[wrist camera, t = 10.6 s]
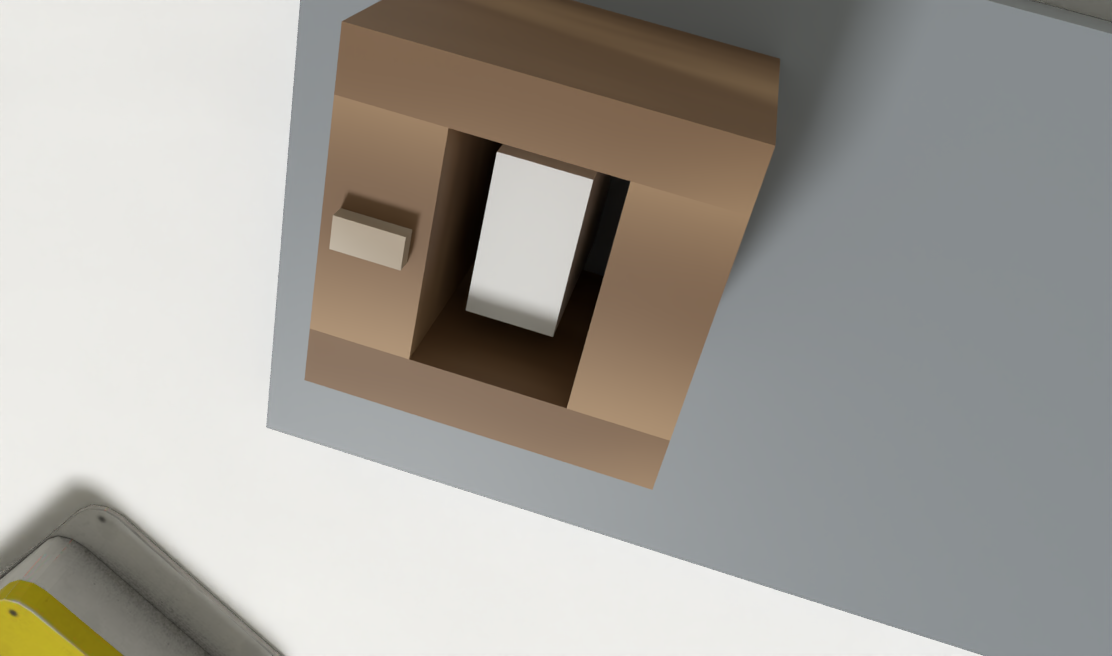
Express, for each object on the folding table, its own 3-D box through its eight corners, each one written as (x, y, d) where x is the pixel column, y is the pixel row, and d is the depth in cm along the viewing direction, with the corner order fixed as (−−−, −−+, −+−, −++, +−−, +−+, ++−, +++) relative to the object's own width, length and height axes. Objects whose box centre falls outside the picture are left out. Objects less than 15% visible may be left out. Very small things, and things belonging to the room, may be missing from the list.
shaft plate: (1638, 163, 17) (1957, 307, 12) (1196, 681, 24) (1293, 895, 20) (347, -184, 19) (198, -173, 14) (292, 395, 26) (181, 531, 21)
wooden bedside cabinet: (681, 346, 21) (650, 500, 17) (401, 261, 22) (297, 389, 17) (780, 58, 18) (775, 152, 13) (447, -35, 18) (333, 26, 14)
